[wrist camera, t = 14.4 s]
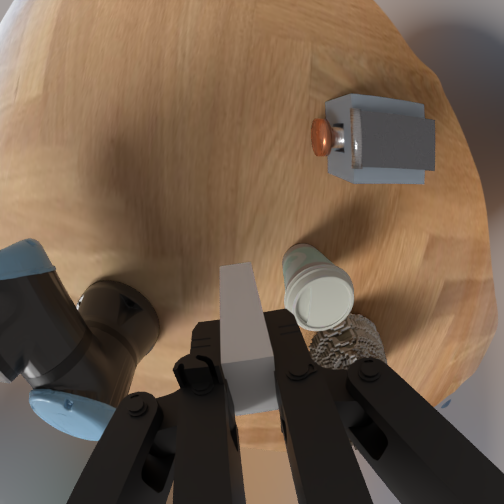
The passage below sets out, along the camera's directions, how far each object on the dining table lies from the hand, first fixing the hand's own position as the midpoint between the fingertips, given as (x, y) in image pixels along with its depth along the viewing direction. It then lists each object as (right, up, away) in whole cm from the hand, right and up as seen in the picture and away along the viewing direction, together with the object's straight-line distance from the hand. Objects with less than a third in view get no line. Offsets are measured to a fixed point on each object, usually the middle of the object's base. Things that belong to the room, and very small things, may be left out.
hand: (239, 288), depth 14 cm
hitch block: (+16, +18, +21) cm, 32 cm away
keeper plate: (+16, +14, +12) cm, 25 cm away
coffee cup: (+8, +1, +28) cm, 29 cm away
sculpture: (+18, -16, +36) cm, 43 cm away
